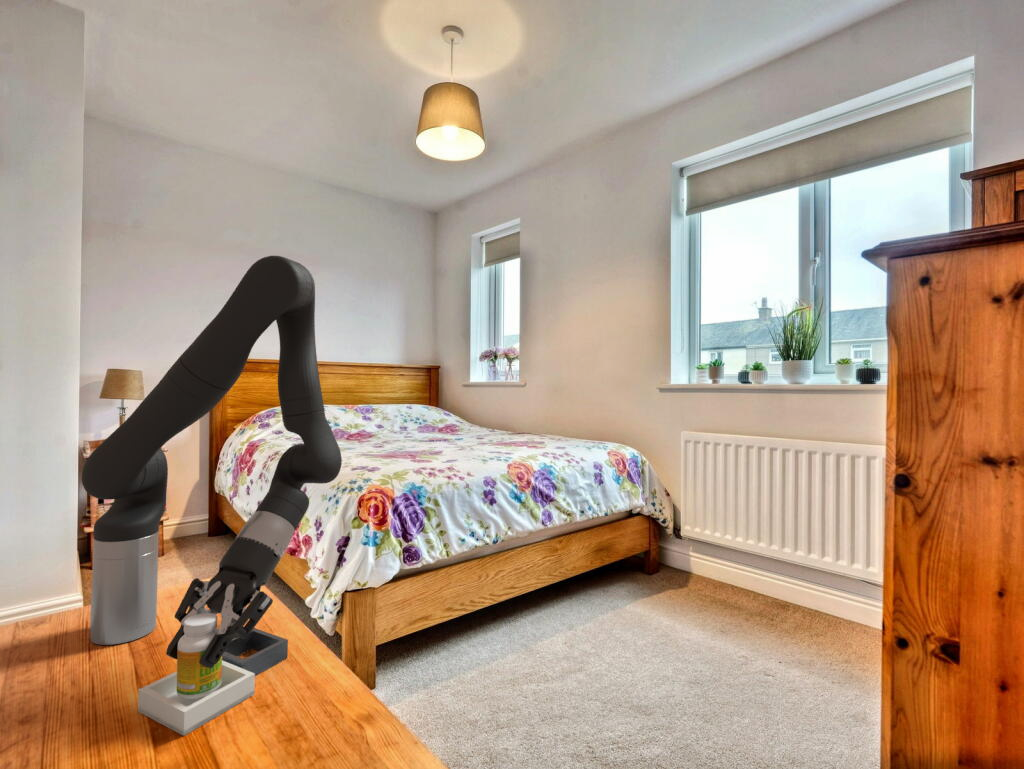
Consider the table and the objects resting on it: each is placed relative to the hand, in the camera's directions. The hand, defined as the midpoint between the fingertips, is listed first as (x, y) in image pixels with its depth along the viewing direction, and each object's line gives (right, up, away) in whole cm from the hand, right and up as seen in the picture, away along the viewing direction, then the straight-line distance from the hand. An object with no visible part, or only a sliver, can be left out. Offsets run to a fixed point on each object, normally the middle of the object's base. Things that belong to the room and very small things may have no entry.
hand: (188, 661), depth 71 cm
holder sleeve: (+2, -7, +12) cm, 14 cm away
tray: (0, -7, +2) cm, 7 cm away
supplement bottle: (0, -5, +2) cm, 5 cm away
